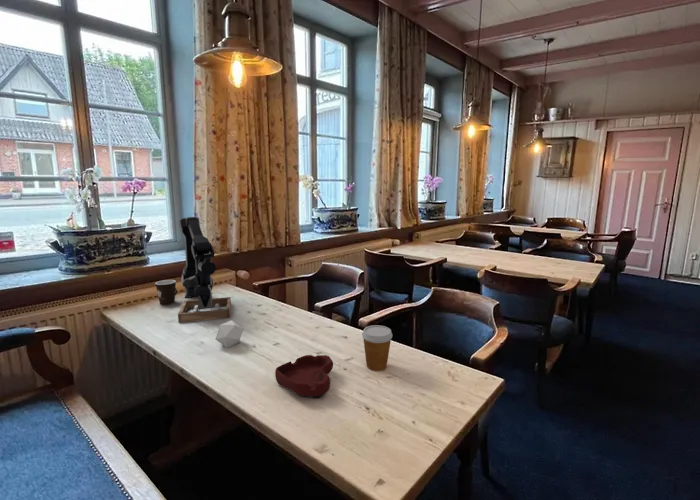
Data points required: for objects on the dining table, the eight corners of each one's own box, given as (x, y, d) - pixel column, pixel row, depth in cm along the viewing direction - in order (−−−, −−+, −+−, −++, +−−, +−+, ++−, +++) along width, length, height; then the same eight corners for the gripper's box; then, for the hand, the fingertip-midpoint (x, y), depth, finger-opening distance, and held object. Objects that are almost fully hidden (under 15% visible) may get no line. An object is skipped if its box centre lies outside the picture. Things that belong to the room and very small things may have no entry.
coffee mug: (156, 301, 181) (154, 281, 179) (175, 298, 185) (174, 279, 183) (159, 308, 171) (157, 287, 169) (179, 305, 176) (178, 284, 174)
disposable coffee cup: (356, 362, 122) (356, 327, 120) (382, 357, 126) (383, 322, 123) (369, 376, 113) (370, 339, 111) (397, 370, 117) (398, 333, 115)
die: (245, 348, 133) (249, 321, 137) (224, 344, 127) (228, 315, 131) (230, 351, 138) (234, 324, 142) (208, 347, 131) (213, 319, 136)
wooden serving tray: (184, 308, 172) (184, 300, 171) (230, 304, 177) (230, 297, 177) (178, 322, 155) (177, 314, 154) (229, 317, 160) (229, 309, 160)
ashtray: (282, 368, 119) (281, 353, 118) (334, 369, 118) (334, 354, 117) (268, 401, 101) (267, 384, 100) (329, 402, 101) (329, 385, 100)
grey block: (200, 305, 167) (199, 290, 166) (212, 304, 169) (211, 289, 167) (199, 309, 163) (198, 294, 161) (211, 308, 164) (210, 293, 163)
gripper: (186, 266, 169) (188, 299, 172) (179, 276, 152) (182, 313, 155) (212, 264, 172) (214, 297, 175) (209, 274, 155) (211, 311, 158)
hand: (205, 304), depth 166 cm, fingers closed on grey block, 5 cm apart
